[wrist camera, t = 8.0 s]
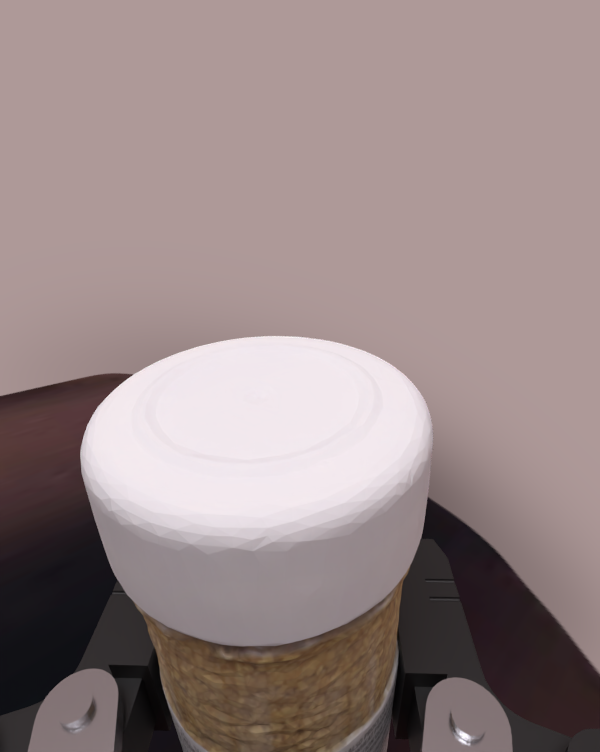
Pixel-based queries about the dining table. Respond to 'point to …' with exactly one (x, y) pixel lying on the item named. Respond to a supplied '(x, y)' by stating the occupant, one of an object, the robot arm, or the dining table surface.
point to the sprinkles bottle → (266, 535)
